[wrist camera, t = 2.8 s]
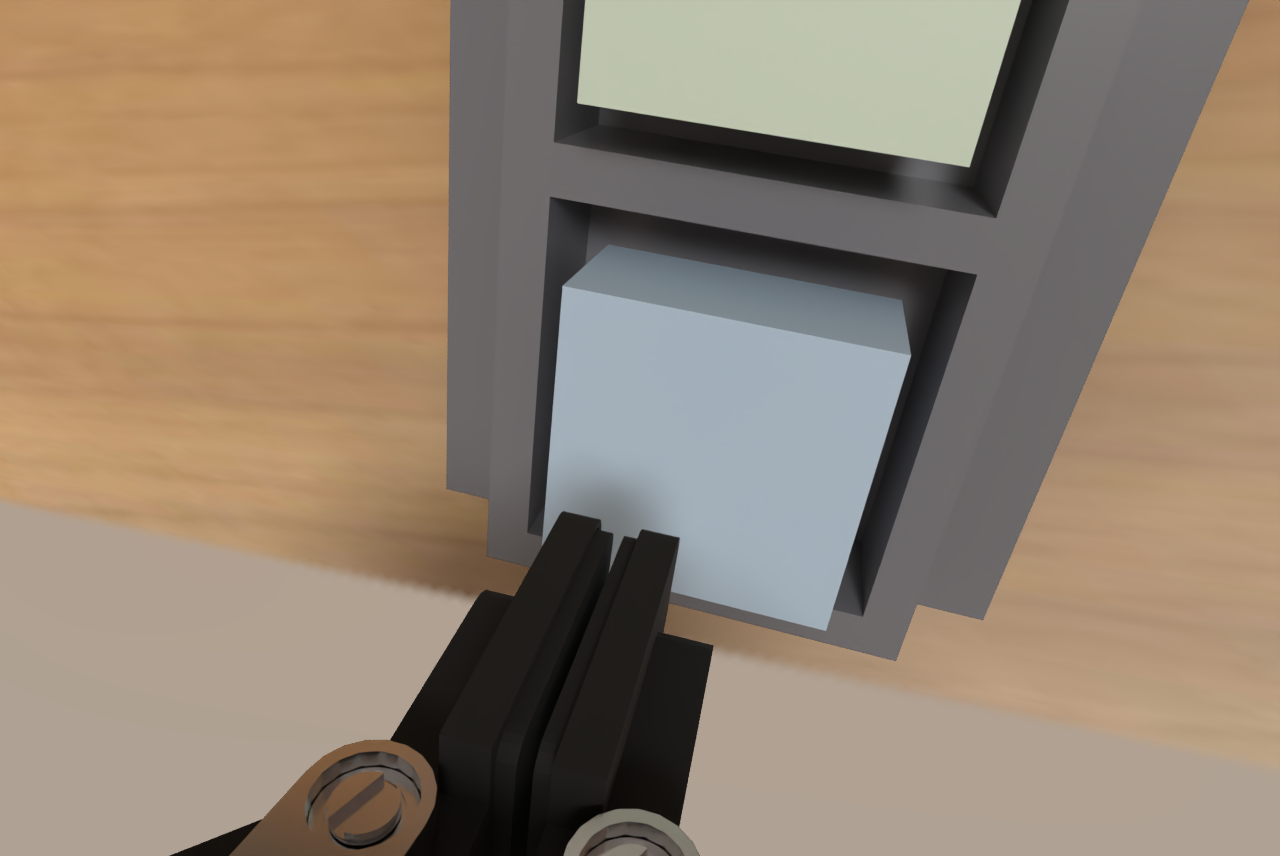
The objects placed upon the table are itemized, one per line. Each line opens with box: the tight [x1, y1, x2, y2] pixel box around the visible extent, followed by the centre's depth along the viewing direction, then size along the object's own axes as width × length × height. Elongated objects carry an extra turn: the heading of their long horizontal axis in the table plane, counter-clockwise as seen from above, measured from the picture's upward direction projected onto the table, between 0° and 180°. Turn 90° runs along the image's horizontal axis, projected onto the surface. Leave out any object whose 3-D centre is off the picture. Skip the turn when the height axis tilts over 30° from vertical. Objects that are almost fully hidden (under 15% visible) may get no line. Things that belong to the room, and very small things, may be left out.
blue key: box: [542, 244, 911, 631], centre depth 16 cm, size 6×6×3 cm
